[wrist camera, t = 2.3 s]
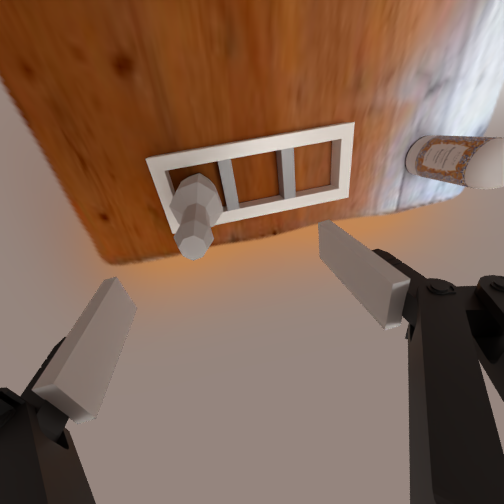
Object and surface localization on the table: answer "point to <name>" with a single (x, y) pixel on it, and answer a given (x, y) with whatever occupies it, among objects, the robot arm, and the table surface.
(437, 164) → the bath foam
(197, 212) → the low poly bottle
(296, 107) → the table surface
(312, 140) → the white rectangular compartment rack
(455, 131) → the table surface
